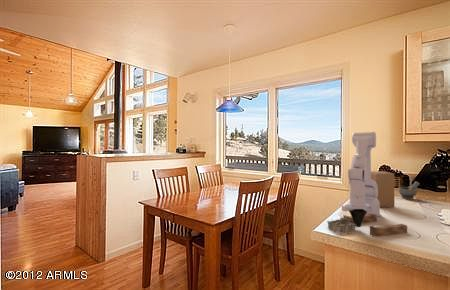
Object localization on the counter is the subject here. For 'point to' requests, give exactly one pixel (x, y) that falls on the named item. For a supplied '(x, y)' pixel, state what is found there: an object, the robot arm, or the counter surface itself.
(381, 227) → the chute
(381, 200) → the wooden block
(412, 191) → the mortar and pestle
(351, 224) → the egg carton
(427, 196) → the counter surface
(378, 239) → the counter surface
